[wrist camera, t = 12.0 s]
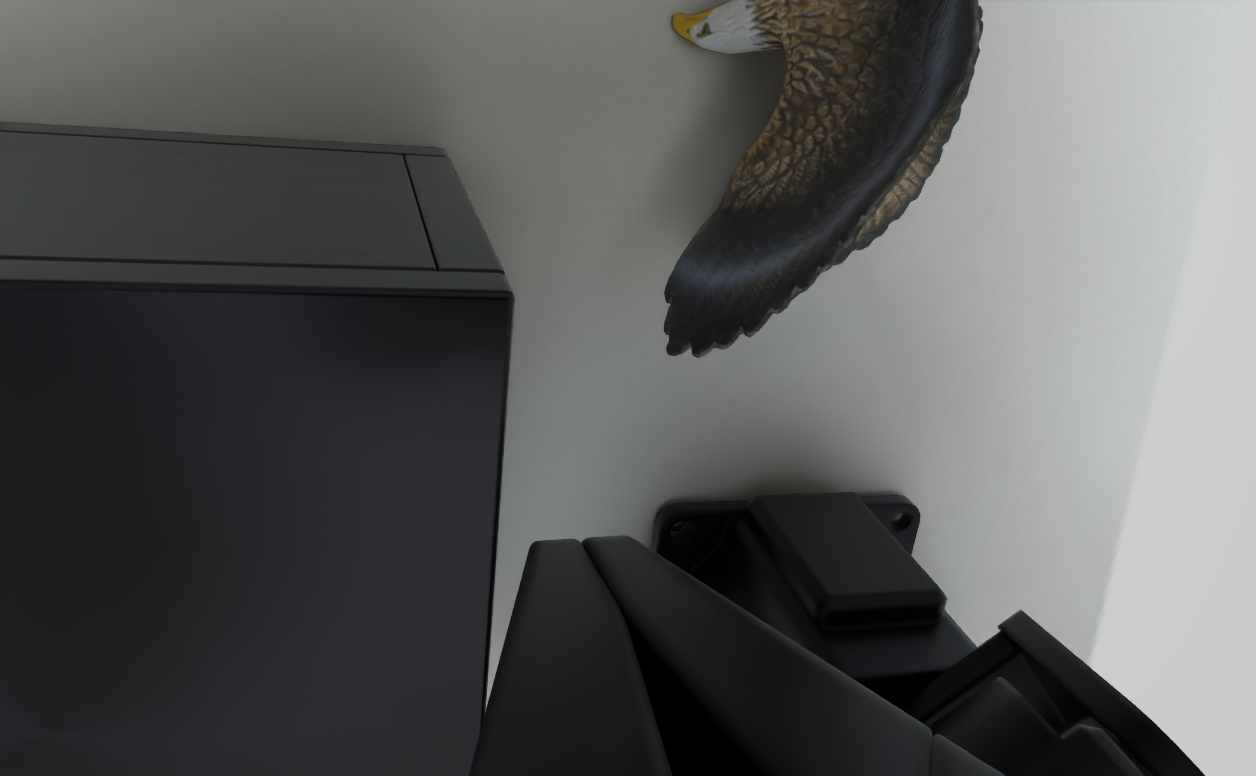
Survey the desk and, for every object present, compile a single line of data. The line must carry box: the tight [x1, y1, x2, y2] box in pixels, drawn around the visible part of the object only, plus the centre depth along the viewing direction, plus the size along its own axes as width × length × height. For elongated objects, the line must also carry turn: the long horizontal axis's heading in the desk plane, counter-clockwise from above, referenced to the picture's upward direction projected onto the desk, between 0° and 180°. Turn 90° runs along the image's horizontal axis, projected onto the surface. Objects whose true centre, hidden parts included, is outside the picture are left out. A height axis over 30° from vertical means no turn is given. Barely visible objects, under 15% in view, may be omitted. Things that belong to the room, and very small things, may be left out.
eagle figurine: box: [664, 0, 983, 358], centre depth 17 cm, size 8×7×9 cm
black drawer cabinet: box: [0, 122, 515, 776], centre depth 16 cm, size 12×11×8 cm
